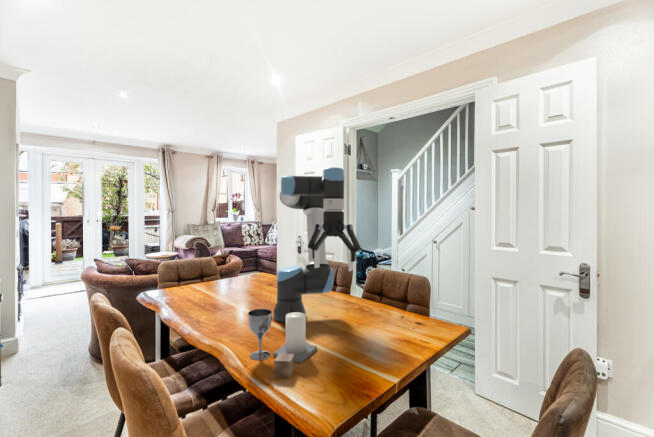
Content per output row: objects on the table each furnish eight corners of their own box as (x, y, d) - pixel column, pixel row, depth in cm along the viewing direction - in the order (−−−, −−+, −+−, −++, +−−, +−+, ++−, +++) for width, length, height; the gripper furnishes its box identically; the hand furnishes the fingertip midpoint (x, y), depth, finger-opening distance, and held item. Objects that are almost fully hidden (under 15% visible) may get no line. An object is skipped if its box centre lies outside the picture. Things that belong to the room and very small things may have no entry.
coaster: (273, 356, 106) (273, 352, 106) (290, 343, 116) (290, 340, 116) (301, 363, 101) (301, 359, 101) (316, 349, 111) (316, 346, 111)
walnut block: (274, 377, 93) (274, 360, 93) (278, 368, 98) (278, 353, 98) (290, 378, 92) (290, 361, 92) (294, 369, 97) (294, 353, 97)
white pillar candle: (281, 351, 107) (281, 317, 107) (292, 343, 113) (292, 311, 113) (299, 355, 104) (299, 320, 104) (309, 347, 110) (309, 313, 110)
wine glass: (250, 350, 110) (250, 308, 110) (272, 349, 111) (272, 308, 110) (246, 361, 102) (246, 316, 102) (270, 360, 103) (270, 315, 103)
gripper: (298, 210, 114) (298, 267, 114) (362, 210, 103) (362, 274, 104) (308, 210, 121) (308, 264, 121) (369, 210, 110) (369, 270, 110)
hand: (333, 269), depth 112 cm, fingers open, 13 cm apart
